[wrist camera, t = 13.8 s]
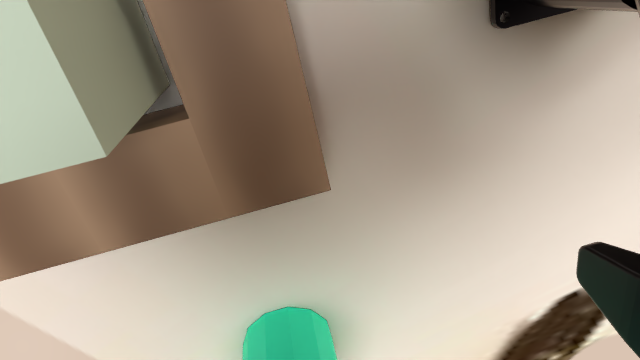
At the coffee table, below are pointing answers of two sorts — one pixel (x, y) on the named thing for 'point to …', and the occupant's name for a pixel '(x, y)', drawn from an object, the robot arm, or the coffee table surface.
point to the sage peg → (71, 81)
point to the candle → (289, 336)
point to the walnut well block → (182, 144)
